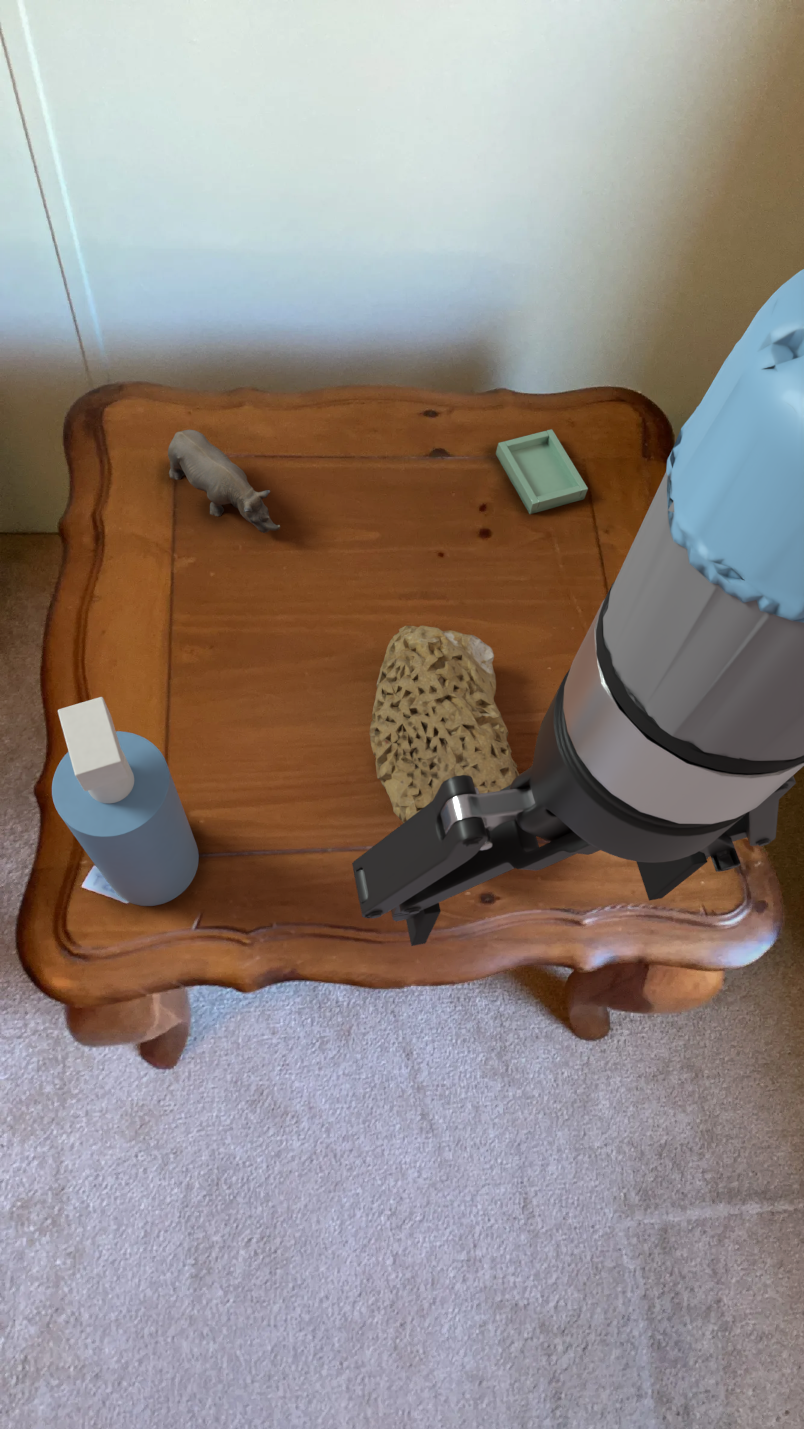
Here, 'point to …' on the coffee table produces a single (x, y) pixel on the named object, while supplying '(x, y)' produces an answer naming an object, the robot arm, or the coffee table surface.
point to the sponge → (437, 718)
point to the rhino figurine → (217, 478)
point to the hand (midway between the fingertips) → (532, 897)
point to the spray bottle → (123, 807)
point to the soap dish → (541, 471)
